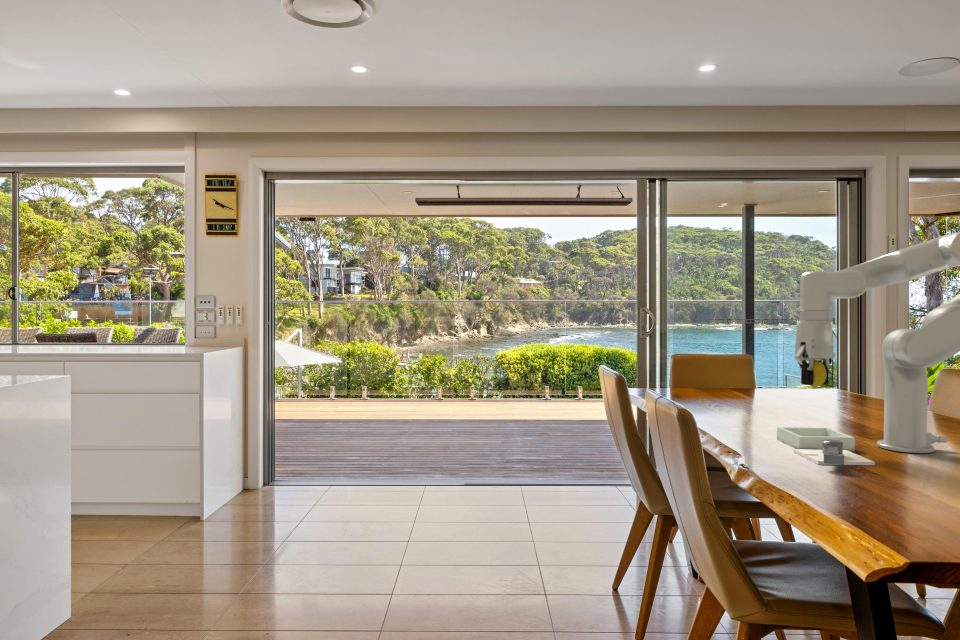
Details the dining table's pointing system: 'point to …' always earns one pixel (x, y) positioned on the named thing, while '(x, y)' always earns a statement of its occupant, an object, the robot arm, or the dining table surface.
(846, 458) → the crank board
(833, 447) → the crank
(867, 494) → the dining table surface
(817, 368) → the lemon
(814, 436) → the tray
